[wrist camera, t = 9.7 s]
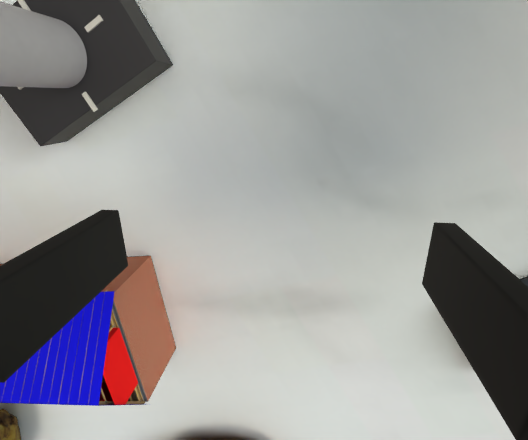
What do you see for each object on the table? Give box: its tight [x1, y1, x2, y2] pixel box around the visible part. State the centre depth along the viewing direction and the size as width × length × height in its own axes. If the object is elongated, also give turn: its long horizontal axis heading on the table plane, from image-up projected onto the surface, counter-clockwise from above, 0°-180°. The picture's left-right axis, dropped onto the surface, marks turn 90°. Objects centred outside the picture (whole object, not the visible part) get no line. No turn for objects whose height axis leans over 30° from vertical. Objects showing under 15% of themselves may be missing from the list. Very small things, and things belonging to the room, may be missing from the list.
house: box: [0, 256, 176, 406], centre depth 29 cm, size 12×20×12 cm, turn 97°
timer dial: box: [0, 2, 87, 88], centre depth 19 cm, size 4×4×8 cm
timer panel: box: [0, 0, 173, 146], centre depth 24 cm, size 12×9×3 cm
